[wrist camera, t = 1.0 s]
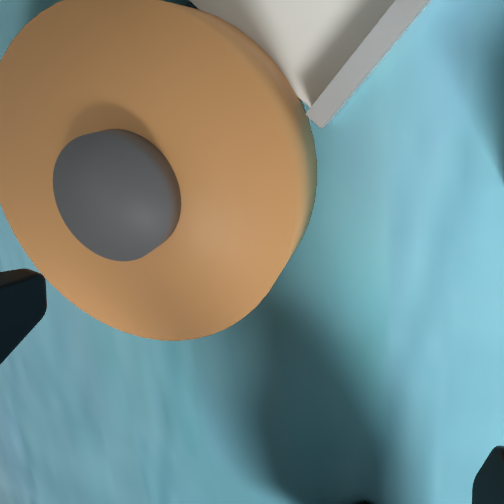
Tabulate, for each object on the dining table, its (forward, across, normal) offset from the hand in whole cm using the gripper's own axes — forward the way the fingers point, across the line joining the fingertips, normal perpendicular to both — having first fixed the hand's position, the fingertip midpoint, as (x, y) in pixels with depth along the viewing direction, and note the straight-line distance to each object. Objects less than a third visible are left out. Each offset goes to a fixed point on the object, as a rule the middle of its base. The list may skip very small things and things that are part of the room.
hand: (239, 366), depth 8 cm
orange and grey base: (+12, +5, -4) cm, 14 cm away
